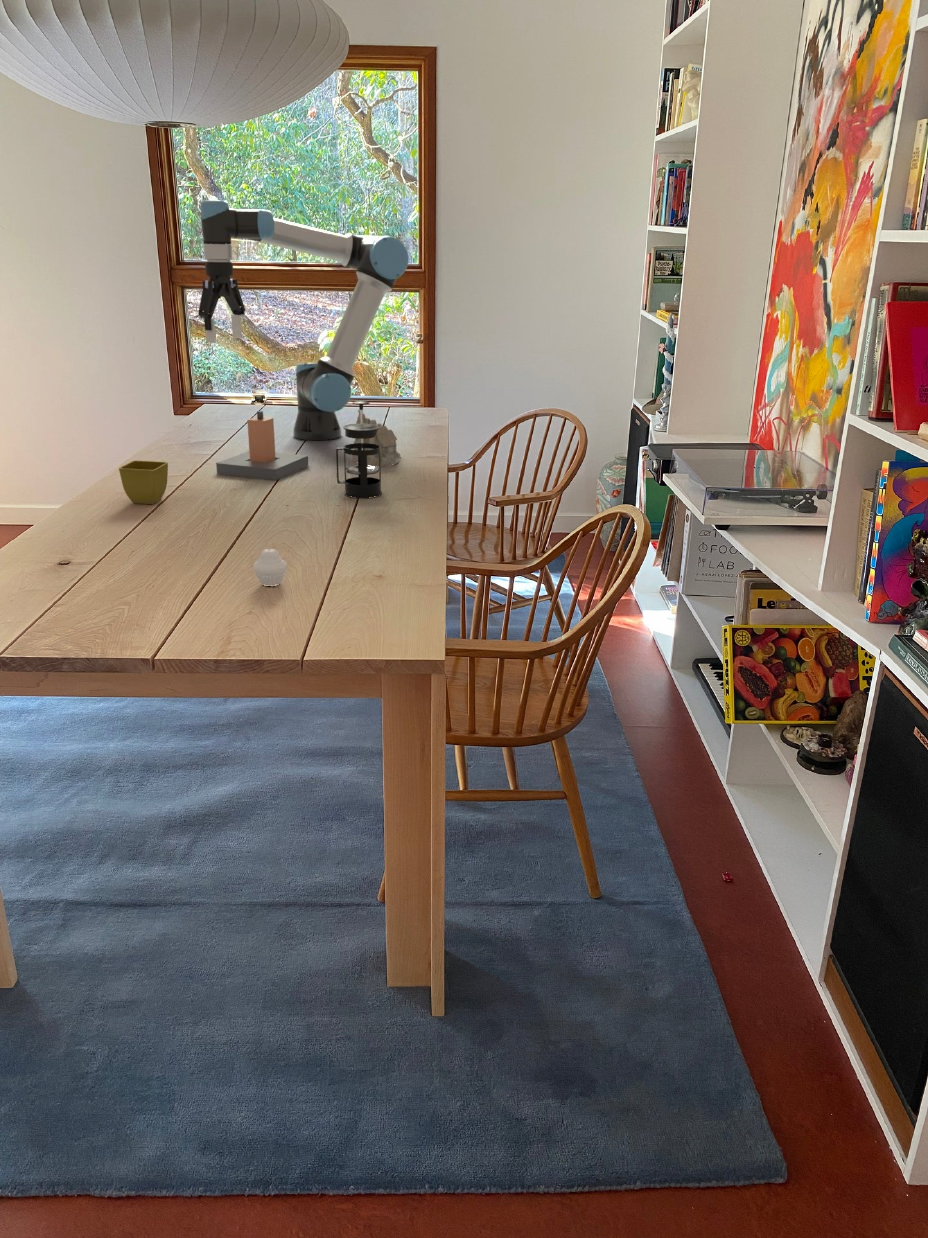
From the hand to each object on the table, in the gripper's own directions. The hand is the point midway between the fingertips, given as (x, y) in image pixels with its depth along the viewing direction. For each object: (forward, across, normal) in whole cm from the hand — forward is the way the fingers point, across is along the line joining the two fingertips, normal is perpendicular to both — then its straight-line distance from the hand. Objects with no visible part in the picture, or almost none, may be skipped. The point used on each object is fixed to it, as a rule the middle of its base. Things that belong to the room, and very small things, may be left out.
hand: (224, 340), depth 269 cm
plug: (+32, +18, +21) cm, 42 cm away
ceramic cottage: (+32, -6, +45) cm, 56 cm away
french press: (+32, +31, +57) cm, 72 cm away
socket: (+32, +18, +21) cm, 42 cm away
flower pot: (+32, +58, +13) cm, 67 cm away
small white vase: (+32, +98, +69) cm, 124 cm away
